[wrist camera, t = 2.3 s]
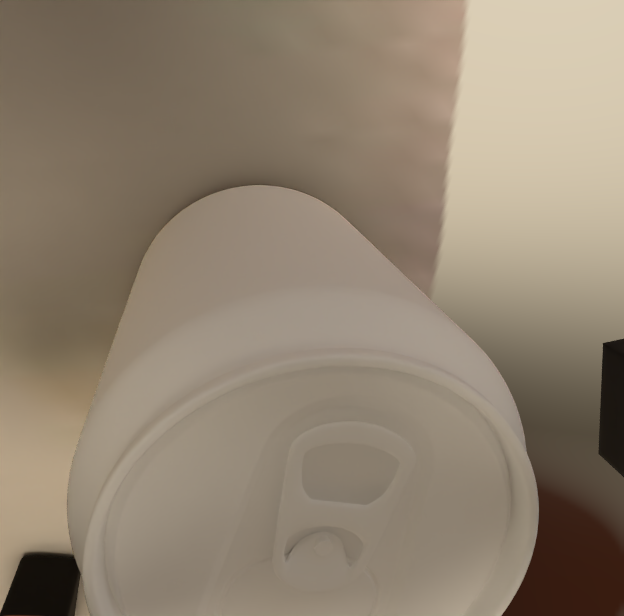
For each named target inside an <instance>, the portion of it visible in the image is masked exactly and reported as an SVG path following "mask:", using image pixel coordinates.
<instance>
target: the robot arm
mask: <svg viewBox="0 0 624 616" xmlns="http://www.w3.org/2000/svg"><path fill="white" fill-rule="evenodd" d="M599 455H600V456H602V457H603V458H604V459H605V460H606V461H607V462H608V463H609V464H610V465H611V466H612V467H613V468H615V469H616V470H617V471H618V472H619V473H620V474H621V475H622V476H623V477H624V339H620V340H616V341H611V342H606V343H603V360H602V384H601V408H600V432H599Z"/></svg>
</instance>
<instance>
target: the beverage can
mask: <svg viewBox="0 0 624 616" xmlns="http://www.w3.org/2000/svg"><path fill="white" fill-rule="evenodd" d="M538 515H539V504H538V493H537V486H536V481H535V476H534V472H533V469H532V466H531V463H530V460H529V458H528V455H527V453H526V444H525V437H524V432H523V427H522V423H521V419H520V416H519V413H518V410H517V407H516V404H515V402H514V399H513V397H512V395H511V393H510V391H509V388H508V386H507V385H506V383H505V381H504V380H503V377H502V376H501V374H500V373H499V371H498V369H497V368H496V366H495V365H494V364H493V362H492V361H491V360H490V358H489V357H488V356H487V355H486V353H485V352H484V351H483V350H482V349H481V348H480V347H479V346H478V345H477V344H476V343H475V342H474V341H473V340H472V339H471V338H470V337H469V336H468V335H467V334H466V333H465V332H464V331H463V330H462V329H461V328H460V327H459V326H458V325H457V324H456V323H455V322H454V321H452V320H451V319H450V318H449V317H448V316H447V315H446V314H445V313H444V312H443V311H442V310H441V309H440V308H439V307H438V306H436V304H435V303H434V302H433V301H431V300H430V299H429V298H428V297H427V296H426V295H425V294H424V293H423V292H422V291H421V290H420V289H419V288H418V287H417V286H416V285H415V284H414V283H413V282H411V281H410V280H409V279H408V278H407V277H406V276H405V275H404V274H403V273H402V272H401V271H400V270H399V269H398V268H397V267H396V266H395V265H394V264H393V263H391V262H390V261H389V260H388V259H387V258H386V257H385V256H384V255H383V254H382V253H381V252H380V251H379V250H378V249H377V248H376V247H375V246H374V245H373V244H371V243H370V242H369V241H368V240H367V239H366V238H365V237H364V236H363V235H362V234H361V233H360V232H359V231H358V230H357V229H356V228H355V227H354V226H353V225H351V224H350V223H349V222H348V221H347V220H346V219H345V218H344V217H343V216H342V215H341V214H339V213H338V212H337V211H336V210H334V209H333V208H332V207H330V206H329V205H327V204H325V203H324V202H322V201H320V200H319V199H317V198H315V197H312V196H310V195H308V194H305V193H303V192H300V191H297V190H293V189H289V188H284V187H278V186H269V185H250V186H241V187H235V188H230V189H226V190H223V191H219V192H216V193H213V194H211V195H209V196H206V197H204V198H202V199H200V200H198V201H196V202H194V203H193V204H191V205H189V206H188V207H186V208H185V209H183V210H182V211H181V212H179V213H178V214H177V215H176V216H175V217H173V218H172V219H171V220H170V221H169V222H168V223H167V224H166V225H165V226H164V227H163V228H162V230H161V231H160V232H159V233H158V234H157V236H156V237H155V239H154V240H153V241H152V243H151V245H150V246H149V248H148V250H147V251H146V253H145V255H144V257H143V260H142V262H141V264H140V267H139V270H138V273H137V275H136V278H135V281H134V284H133V287H132V290H131V292H130V295H129V298H128V301H127V304H126V307H125V310H124V312H123V315H122V318H121V321H120V324H119V327H118V329H117V332H116V335H115V338H114V341H113V344H112V347H111V349H110V352H109V355H108V358H107V361H106V364H105V366H104V369H103V372H102V375H101V378H100V381H99V384H98V386H97V389H96V392H95V395H94V398H93V401H92V404H91V406H90V409H89V412H88V415H87V418H86V421H85V423H84V426H83V429H82V432H81V435H80V438H79V441H78V444H77V447H76V450H75V453H74V457H73V461H72V465H71V470H70V475H69V482H68V494H67V517H68V528H69V535H70V540H71V545H72V549H73V553H74V557H75V560H76V563H77V566H78V568H79V571H80V573H81V575H82V578H83V587H84V594H85V599H86V603H87V607H88V610H89V613H90V616H501V615H502V614H503V612H504V611H505V610H506V608H507V607H508V605H509V604H510V602H511V600H512V599H513V597H514V595H515V594H516V592H517V590H518V588H519V586H520V584H521V582H522V580H523V578H524V576H525V573H526V571H527V568H528V566H529V563H530V560H531V557H532V553H533V550H534V546H535V541H536V536H537V529H538Z"/></svg>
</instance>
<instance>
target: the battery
mask: <svg viewBox="0 0 624 616" xmlns="http://www.w3.org/2000/svg"><path fill="white" fill-rule="evenodd" d="M79 579H80V571H79V568H78V566H77V563H76V560H75V558H67V557H53V556H24V557H23V558H22V559H21V561H20V564H19V566H18V569H17V571H16V574H15V576H14V579H13V582H12V584H11V587H10V590H9V592H8V595H7V597H6V600H5V603H4V605H3V608H2V610H1V613H0V616H74V614H75V607H76V600H77V593H78V586H79Z"/></svg>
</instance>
